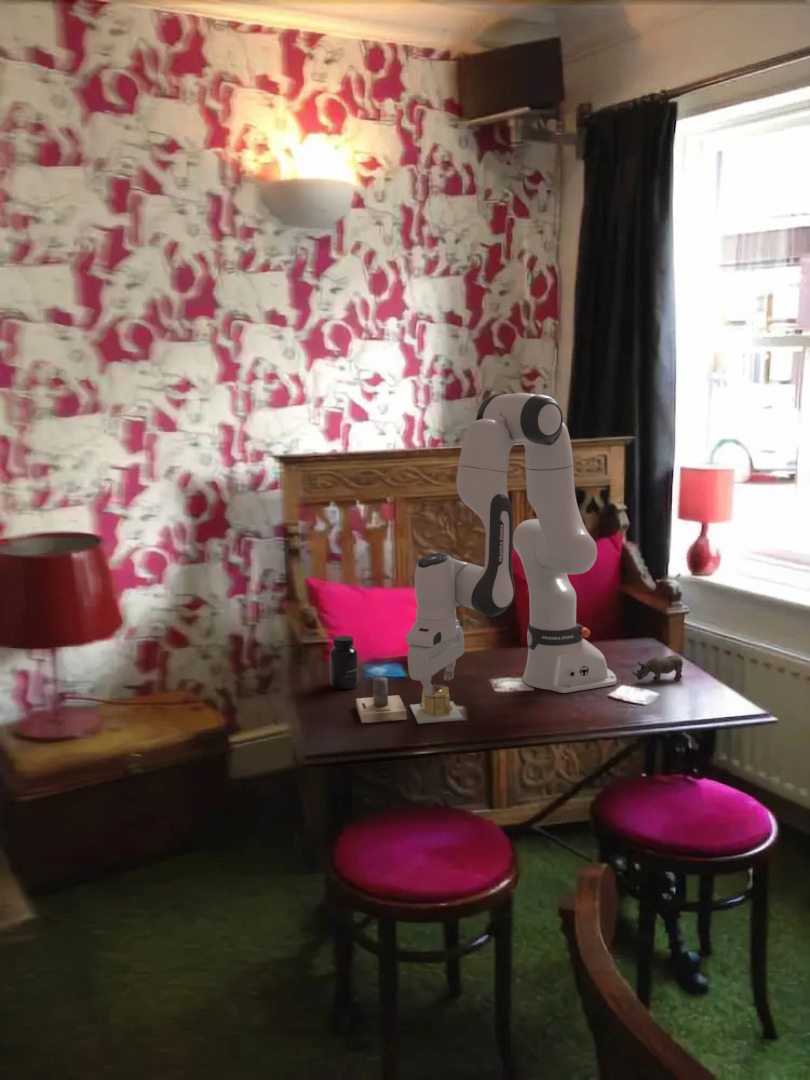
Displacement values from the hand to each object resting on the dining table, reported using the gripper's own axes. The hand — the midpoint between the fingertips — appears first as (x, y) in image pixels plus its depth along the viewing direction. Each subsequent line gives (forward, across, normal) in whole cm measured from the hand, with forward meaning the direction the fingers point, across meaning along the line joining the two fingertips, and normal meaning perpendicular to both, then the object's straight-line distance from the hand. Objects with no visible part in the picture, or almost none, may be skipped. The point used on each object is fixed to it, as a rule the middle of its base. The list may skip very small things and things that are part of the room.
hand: (439, 686), depth 227 cm
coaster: (+6, +1, -1) cm, 6 cm away
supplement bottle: (+6, -6, -29) cm, 30 cm away
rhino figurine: (+8, -43, +37) cm, 57 cm away
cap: (+6, +1, -1) cm, 6 cm away
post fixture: (+6, +6, -12) cm, 15 cm away
